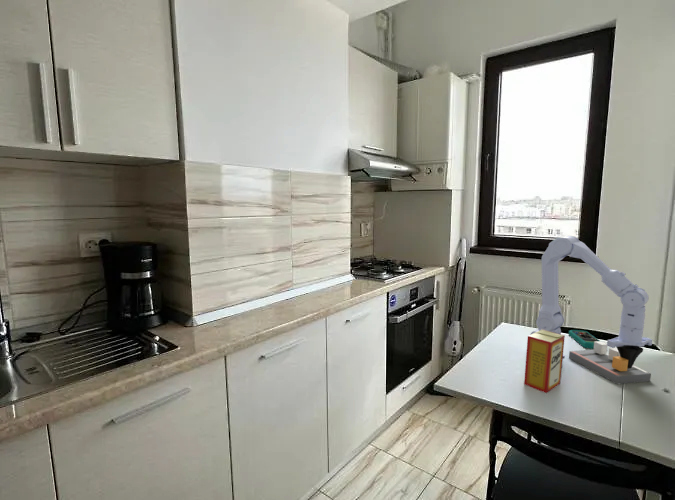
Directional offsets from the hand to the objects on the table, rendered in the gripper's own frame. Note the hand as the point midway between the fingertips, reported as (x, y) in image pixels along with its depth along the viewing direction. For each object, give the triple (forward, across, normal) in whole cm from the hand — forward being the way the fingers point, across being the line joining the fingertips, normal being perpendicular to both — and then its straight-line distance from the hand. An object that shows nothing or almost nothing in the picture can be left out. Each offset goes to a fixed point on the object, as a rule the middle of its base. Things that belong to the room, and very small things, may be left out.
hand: (626, 367), depth 115 cm
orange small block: (0, -3, 0) cm, 3 cm away
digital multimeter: (+4, +12, +28) cm, 31 cm away
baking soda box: (+4, -30, 0) cm, 30 cm away
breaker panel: (+3, -1, +6) cm, 7 cm away
